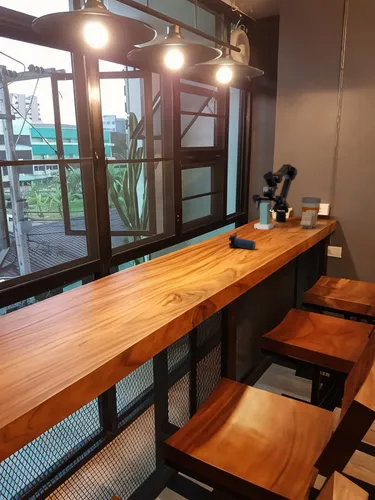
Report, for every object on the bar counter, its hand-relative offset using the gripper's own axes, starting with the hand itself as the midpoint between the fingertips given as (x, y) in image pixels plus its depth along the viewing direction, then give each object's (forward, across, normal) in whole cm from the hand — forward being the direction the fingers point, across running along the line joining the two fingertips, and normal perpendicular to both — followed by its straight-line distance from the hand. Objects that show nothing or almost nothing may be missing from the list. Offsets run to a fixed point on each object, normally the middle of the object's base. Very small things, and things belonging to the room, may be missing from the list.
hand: (263, 210), depth 239 cm
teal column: (+5, 0, +7) cm, 9 cm away
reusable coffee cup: (-25, +16, +41) cm, 50 cm away
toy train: (-4, +23, +20) cm, 31 cm away
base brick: (+7, 0, +9) cm, 12 cm away
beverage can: (+48, +10, -31) cm, 58 cm away
